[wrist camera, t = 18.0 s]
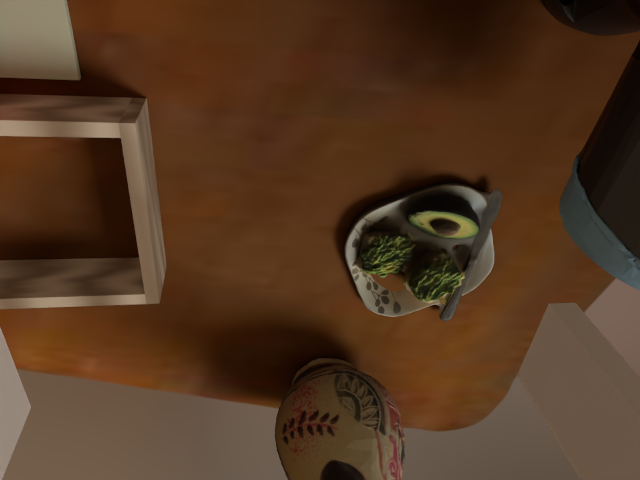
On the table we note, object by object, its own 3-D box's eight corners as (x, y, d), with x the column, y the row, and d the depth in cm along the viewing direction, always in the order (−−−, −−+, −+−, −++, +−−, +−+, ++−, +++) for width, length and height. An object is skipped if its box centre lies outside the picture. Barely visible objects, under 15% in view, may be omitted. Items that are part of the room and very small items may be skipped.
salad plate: (504, 291, 62) (521, 316, 58) (369, 333, 63) (378, 361, 59) (492, 159, 51) (513, 179, 47) (329, 212, 52) (337, 236, 48)
